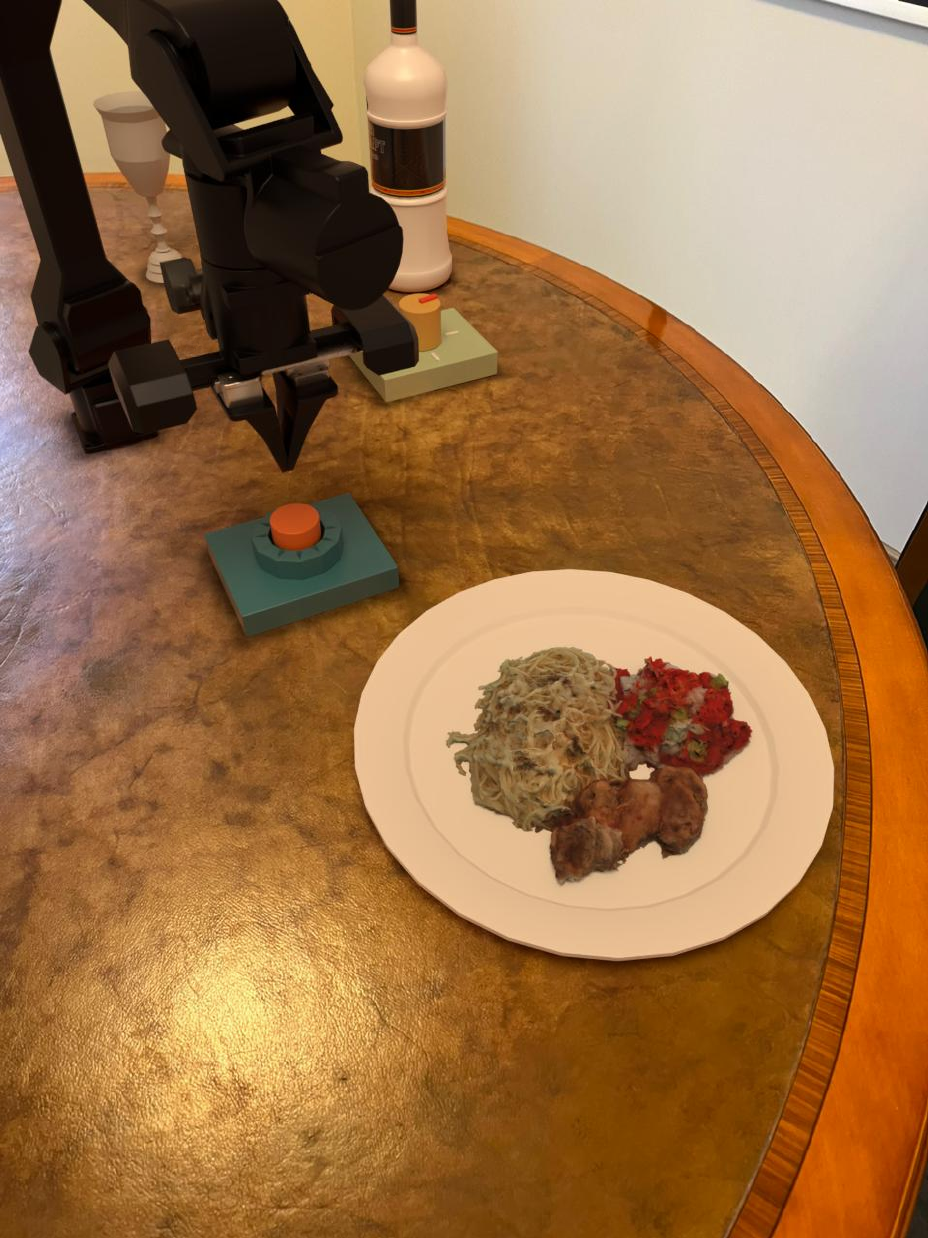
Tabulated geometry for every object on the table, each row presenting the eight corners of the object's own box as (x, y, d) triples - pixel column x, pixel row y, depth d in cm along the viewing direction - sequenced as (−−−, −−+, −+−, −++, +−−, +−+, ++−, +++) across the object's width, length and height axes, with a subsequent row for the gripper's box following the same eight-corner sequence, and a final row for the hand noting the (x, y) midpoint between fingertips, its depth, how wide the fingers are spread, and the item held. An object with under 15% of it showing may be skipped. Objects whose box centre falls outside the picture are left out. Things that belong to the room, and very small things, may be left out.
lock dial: (415, 355, 90) (414, 314, 87) (392, 338, 92) (390, 297, 89) (449, 343, 91) (448, 302, 88) (425, 327, 94) (425, 286, 91)
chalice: (124, 281, 106) (79, 108, 93) (155, 256, 110) (115, 88, 97) (182, 290, 104) (144, 116, 91) (210, 264, 109) (178, 95, 96)
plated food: (260, 746, 60) (252, 713, 58) (561, 534, 75) (565, 501, 73) (629, 1098, 45) (638, 1073, 43) (912, 747, 60) (931, 714, 58)
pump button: (266, 528, 70) (263, 510, 69) (311, 515, 71) (309, 497, 70) (281, 557, 68) (278, 539, 66) (328, 543, 69) (326, 525, 68)
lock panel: (347, 354, 95) (345, 330, 93) (453, 329, 99) (453, 305, 97) (385, 403, 88) (384, 378, 87) (497, 374, 92) (498, 349, 90)
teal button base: (209, 555, 73) (199, 515, 70) (351, 513, 77) (347, 473, 74) (246, 638, 67) (237, 598, 64) (399, 588, 71) (397, 548, 68)
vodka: (435, 301, 103) (429, -23, 81) (358, 287, 105) (334, -32, 84) (463, 266, 109) (465, -44, 88) (391, 253, 111) (375, -51, 90)
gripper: (350, 174, 62) (366, 382, 73) (60, 225, 56) (126, 441, 67) (419, 239, 55) (425, 457, 66) (96, 304, 49) (163, 531, 60)
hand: (285, 468), depth 65 cm, fingers closed
